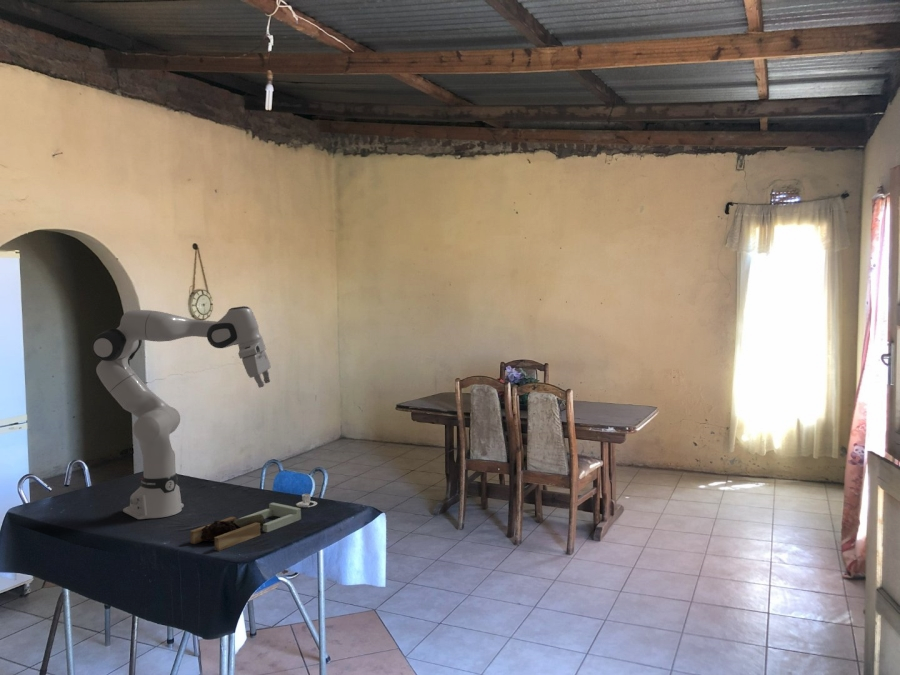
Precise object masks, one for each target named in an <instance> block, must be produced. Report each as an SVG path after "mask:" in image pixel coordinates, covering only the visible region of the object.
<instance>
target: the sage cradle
mask: <svg viewBox="0 0 900 675" xmlns="http://www.w3.org/2000/svg"><path fill="white" fill-rule="evenodd" d="M268 506H269V508H265V509H263V510H259V511H257V512H254V513H252V514H248V515H245V516H243V517H239V518H238V519H241V518H245V517H250V516H254V515H259V514H261V515H263V517H264V520H266V519H267V518H270V517H278V518H275V519H273V520H270V521H268V522H265V524H263V528H262V532H264V533H270V532H272V531H274V530H277V529H279V528H282V527H285V526H288V525H290V524H292V523H295V522H299V521H300V520H302V511H301V510H302V507H298V506H291V505H287V504H281V503H277V502H270V503H268Z"/></svg>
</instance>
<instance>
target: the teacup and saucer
mask: <svg viewBox="0 0 900 675" xmlns="http://www.w3.org/2000/svg"><path fill="white" fill-rule="evenodd" d="M301 497H302V499H301V500H302V501H299V502H297V503H295V507H297V508H311V507H315V506H316V505H318V502H317V501H313V500H311V494H310V493H303V494H301ZM310 503H312V505H310Z"/></svg>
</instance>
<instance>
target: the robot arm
mask: <svg viewBox="0 0 900 675" xmlns="http://www.w3.org/2000/svg"><path fill="white" fill-rule="evenodd" d="M189 337H190V338H191V337H199V338H200V337H201V338H207V341H208V343H209V344H210V346H212V347H213V348H216V349H226V348H229V347H233V346H238V349H239V351H238V358H239V359H241V361H242V365H243V367H244V370H245V372H246V374H247V375H248V377H249V378H252V379H253V378H254V381H255V382H256V384H257V386H258V388H263V387H264V386H265V384H269V383H270V382H271V379H270V375H269V374H270V372H269V370H271V362H270V360H269V358H268V355H267V353H266V350H267V348H266V346H265V345H266V344H265V342H264V338H263V336H262V335H261V333H260V330H259V323H258V322H257V318H256V316H255V315H254V312H253V310H252V309H251V307H249V306H247V305H246V306H244V305H243V306H237V307H231V308H229V309H228V310H227V311H226V314H224V315H223V316H222V317H221V318H220V319H218V320H217V321H215V320H214V321H213V320H206V319H205V320H204V319H203V320H202V319H195V318H188V317H184V316H180V315H176V314H173V313H172V314H171V313H168V312H163V311H158V310H157V311H156V310H149V309H148V310H147V309H139V310H138V309H135V310H128V311H126V312H125V313H123V315H122V316H121V318H120V323H119V326H118V327H117V328H116V327H112V328H110V329H107V330H104V331H102V332H101V333H98V334H97V335H96V336H95V337H94V338H93V339H92V340H91V345H90V349H91V353H92V354H93V355H94V357H95V358H97V359H99V360H100V362H99V363H98V364H97V366H96V368H95V369H96V371H95V372H96V374H97V376H98V378H99V380H100V382H101V384H103V386H104V387H105V388H106V390H107V391H108V393H110V395H111V396H112V397H113V398H114V399H115V401H116V402H117V403H118V405H120V406H121V407H122V409H123V410H125V411H126V412H129V413H131V414H132V415H134V416H135V417H136V418H137V419H136V421H135V422H134V424H133V429H132V431H133V434H134V436H135V438H136V439H137V440H138V444H139V447H140V450H141V455H142V456H141V457H142V467H143V469H142V471H143V476H140V477H139V481H141V482H140V486H139V487H138V488H137V489H136V490H135V491H134V492H133V493H132V494H131V495H130V497H129V505H128V506H126V507H124V508H123V509H122V512H123V513H125V514H127V515H129V516H131V517H133V518H135V519H137V520H145V519H147V520H148V519H160V518H166V517H171V516H174V515H177V514H180V512H181V511H182V510H183V508H184V507H185V505H184V503H183V502H182V498H181V492H180V491H181V490H180V486H179V485H178V473H177V472H176V471H177V470H176V453H175V451H174V450H173V447H172V443H171V440H170V434H173V433H174V432H175V431H176V430H177V428H178V427H179V426H180V423H181V415H180V412H179V411H178V410H177V409H176V408H174V407H172V406H170V405H168V403H167V402H166V401H164V400H162V399H161V398H160V397H159V396H157V395H156V394H155V393H154V392H153V391H152V390H151V389H150V388H149V387H148V386H147V385H146V384H145V383H144V382H143V380H142V379H141V378H140V377H139V376H138V374H137V373H136V372H135V370H134V369H132V368H131V366H130V364H129V361H131V360H133V358H134V357H135V355H136V353H138V351H139V349H140V348H141V345H142V344H143V343H142V342H143V341H149V342H158V343H160V342H171V341H176V340H178V339H182V338H183V339H184V338H189ZM261 374H262V376H263V379H262V376H261Z"/></svg>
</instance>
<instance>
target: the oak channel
mask: <svg viewBox="0 0 900 675" xmlns="http://www.w3.org/2000/svg"><path fill="white" fill-rule="evenodd" d="M233 520H237V517H235V516H230V517H227V518H224V519H221V520H220V521H229V522H230V521H233ZM211 524H212V523H210V524H207V525H204V526H200V527H198V528H195V529H192V530H190V531H189V535H190V544H193V545H196V544H198V543H202V542H203V541H204V539H201V536H202V532H203V531H202V529H203V528H204V527H205V526H210V525H211ZM259 536H261V529H260V523H257V522H256V523H253V524H250V525H247V526H245V527H242V528H239V529H236V530H234V531H231V532H228V533H225V534H223V535H220V536H217V537H214V538H215V541H214V551H217V552H220V551H222V550H225V549H227V548H231V547H233V546H236V545H238V544H241V543H243V542H246V541H248V540H251V539H254V538H257V537H259Z"/></svg>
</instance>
